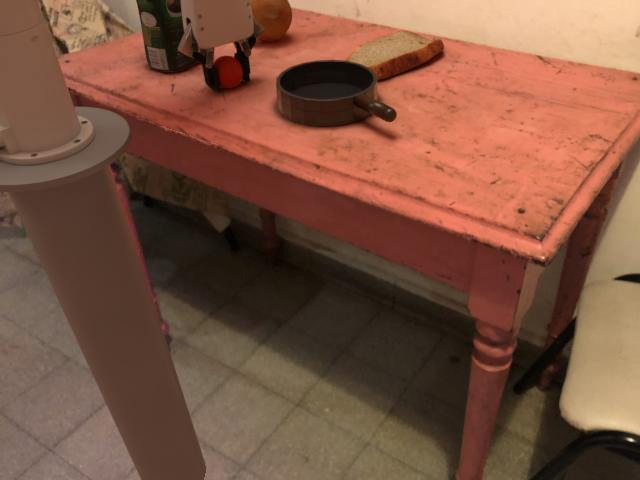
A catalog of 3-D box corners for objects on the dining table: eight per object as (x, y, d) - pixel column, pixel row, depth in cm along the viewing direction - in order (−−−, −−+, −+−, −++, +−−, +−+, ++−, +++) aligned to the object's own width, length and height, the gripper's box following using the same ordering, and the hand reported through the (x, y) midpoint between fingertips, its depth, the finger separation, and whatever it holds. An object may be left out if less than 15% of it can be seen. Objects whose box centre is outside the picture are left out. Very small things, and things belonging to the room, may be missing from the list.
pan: (318, 136, 83) (316, 110, 81) (259, 102, 92) (256, 77, 90) (397, 105, 90) (398, 80, 88) (335, 76, 100) (334, 52, 97)
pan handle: (388, 126, 80) (389, 112, 79) (351, 107, 85) (351, 93, 84) (399, 121, 81) (400, 108, 80) (361, 103, 86) (361, 90, 85)
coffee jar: (180, 51, 110) (158, -61, 98) (211, 59, 106) (191, -55, 94) (140, 68, 104) (110, -48, 92) (171, 77, 100) (144, -42, 88)
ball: (224, 95, 94) (219, 65, 91) (208, 86, 97) (203, 56, 94) (250, 87, 97) (246, 57, 94) (234, 78, 100) (230, 48, 97)
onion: (232, 42, 113) (224, -14, 107) (269, 28, 119) (263, -26, 113) (267, 53, 108) (261, -5, 102) (304, 37, 114) (300, -18, 108)
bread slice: (344, 85, 97) (343, 62, 94) (344, 45, 110) (343, 25, 108) (453, 82, 97) (456, 60, 94) (440, 43, 110) (441, 23, 108)
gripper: (246, -51, 91) (260, 64, 103) (144, -32, 83) (171, 91, 95) (273, -43, 87) (284, 77, 99) (168, -21, 79) (193, 106, 90)
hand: (229, 82), depth 97 cm, fingers closed on ball, 4 cm apart
